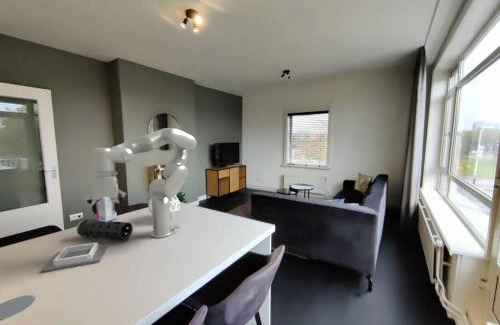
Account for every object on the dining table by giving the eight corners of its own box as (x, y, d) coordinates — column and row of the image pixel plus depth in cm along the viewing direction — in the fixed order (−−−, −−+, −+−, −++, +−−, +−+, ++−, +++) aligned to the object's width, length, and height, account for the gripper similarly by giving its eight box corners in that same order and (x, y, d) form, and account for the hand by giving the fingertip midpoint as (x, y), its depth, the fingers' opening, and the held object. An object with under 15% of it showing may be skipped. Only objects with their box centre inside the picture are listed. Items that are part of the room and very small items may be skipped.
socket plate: (107, 246, 111) (106, 239, 110) (99, 262, 96) (98, 254, 96) (57, 254, 103) (57, 247, 103) (40, 273, 89) (39, 265, 88)
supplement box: (117, 218, 104) (116, 195, 103) (105, 223, 98) (104, 198, 97) (108, 217, 106) (106, 194, 105) (96, 221, 100) (94, 197, 99)
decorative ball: (178, 212, 163) (177, 186, 161) (182, 221, 144) (181, 192, 142) (149, 216, 154) (147, 189, 153) (148, 226, 136) (147, 196, 134)
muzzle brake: (120, 245, 112) (119, 225, 111) (75, 240, 118) (73, 222, 116) (133, 237, 121) (132, 219, 120) (91, 233, 127) (90, 216, 126)
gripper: (127, 172, 107) (128, 207, 109) (83, 174, 100) (86, 212, 102) (125, 174, 100) (126, 212, 102) (78, 176, 93) (81, 217, 95)
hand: (106, 211), depth 102 cm, fingers closed on supplement box, 7 cm apart
